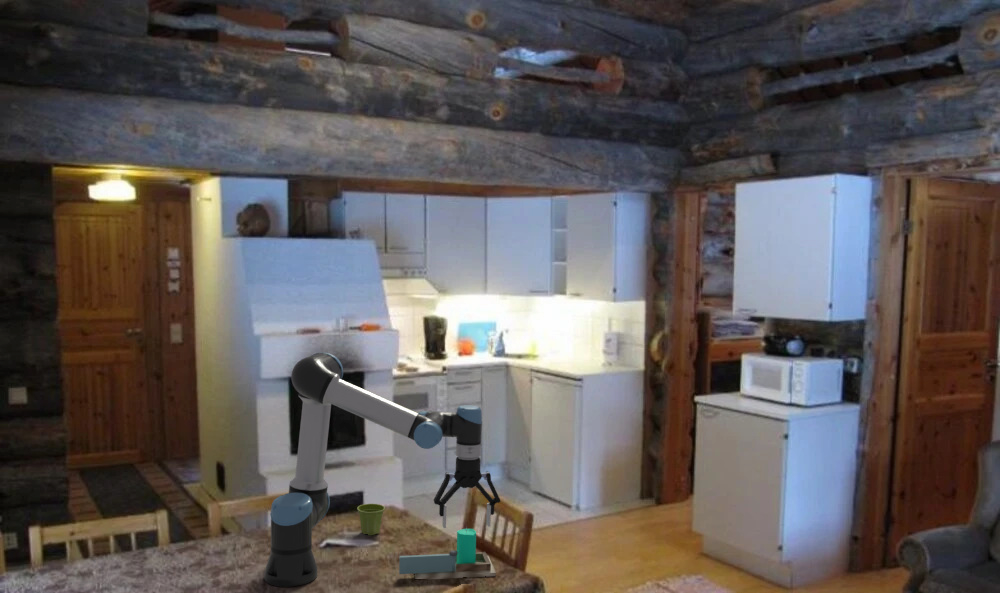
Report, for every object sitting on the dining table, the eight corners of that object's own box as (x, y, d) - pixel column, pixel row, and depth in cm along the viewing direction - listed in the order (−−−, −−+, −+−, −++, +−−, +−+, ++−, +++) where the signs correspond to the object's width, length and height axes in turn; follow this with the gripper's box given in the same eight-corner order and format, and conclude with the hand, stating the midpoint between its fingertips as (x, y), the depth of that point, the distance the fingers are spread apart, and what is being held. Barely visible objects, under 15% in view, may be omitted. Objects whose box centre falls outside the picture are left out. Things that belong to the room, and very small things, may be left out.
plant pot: (385, 528, 284) (385, 503, 284) (383, 537, 275) (383, 512, 275) (358, 528, 284) (358, 503, 283) (355, 537, 274) (355, 512, 274)
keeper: (457, 572, 243) (458, 552, 242) (399, 574, 240) (399, 555, 239) (456, 569, 245) (457, 550, 245) (399, 571, 242) (399, 552, 242)
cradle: (415, 580, 239) (415, 570, 239) (412, 562, 253) (412, 552, 253) (495, 576, 244) (496, 566, 244) (488, 558, 257) (488, 549, 257)
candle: (458, 569, 245) (459, 530, 245) (454, 562, 251) (454, 524, 250) (478, 568, 247) (478, 529, 246) (473, 560, 253) (473, 522, 252)
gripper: (428, 460, 241) (426, 531, 243) (510, 459, 246) (508, 528, 247) (426, 454, 249) (424, 522, 250) (506, 453, 253) (504, 520, 254)
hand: (466, 525), depth 248 cm, fingers open, 13 cm apart
